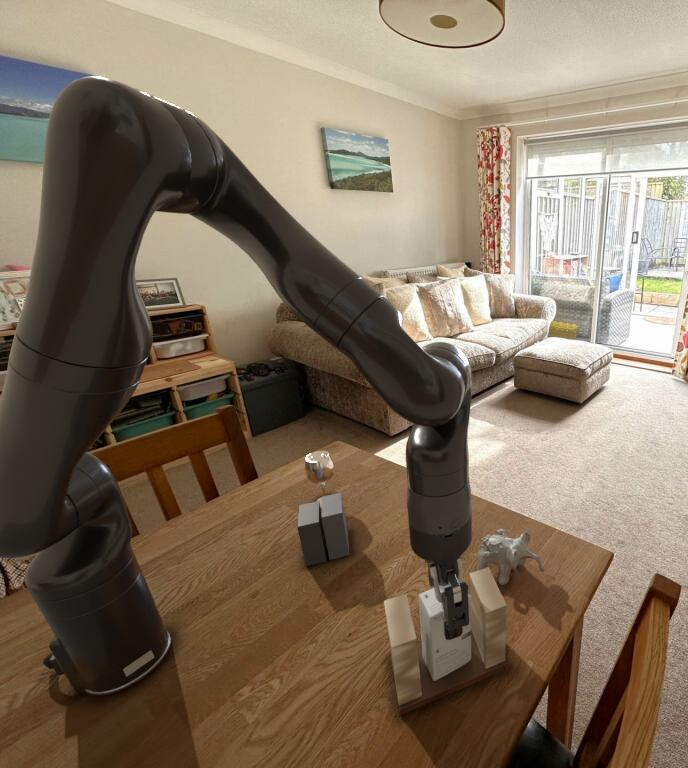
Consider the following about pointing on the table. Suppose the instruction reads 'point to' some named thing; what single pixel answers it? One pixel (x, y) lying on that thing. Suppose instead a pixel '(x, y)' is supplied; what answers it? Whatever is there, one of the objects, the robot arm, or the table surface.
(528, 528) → the table surface
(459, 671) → the book board
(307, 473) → the wineglass
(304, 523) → the grey books
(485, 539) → the gray elephant figurine
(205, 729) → the table surface
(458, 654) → the cosmetic box
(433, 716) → the table surface
